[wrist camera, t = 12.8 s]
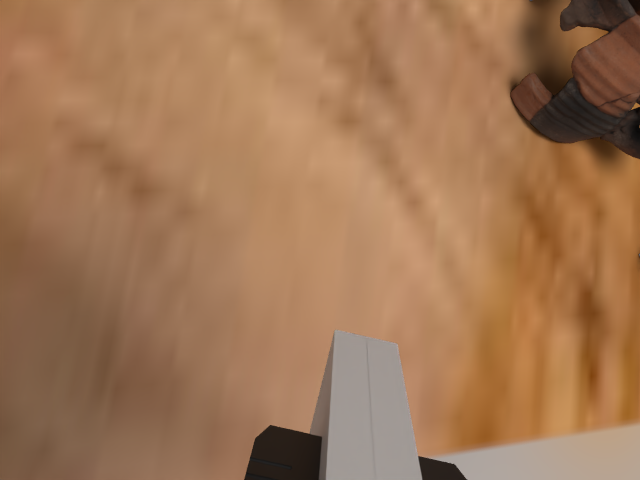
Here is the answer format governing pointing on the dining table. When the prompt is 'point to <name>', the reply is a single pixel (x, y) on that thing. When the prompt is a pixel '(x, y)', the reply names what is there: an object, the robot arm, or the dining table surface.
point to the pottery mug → (593, 80)
